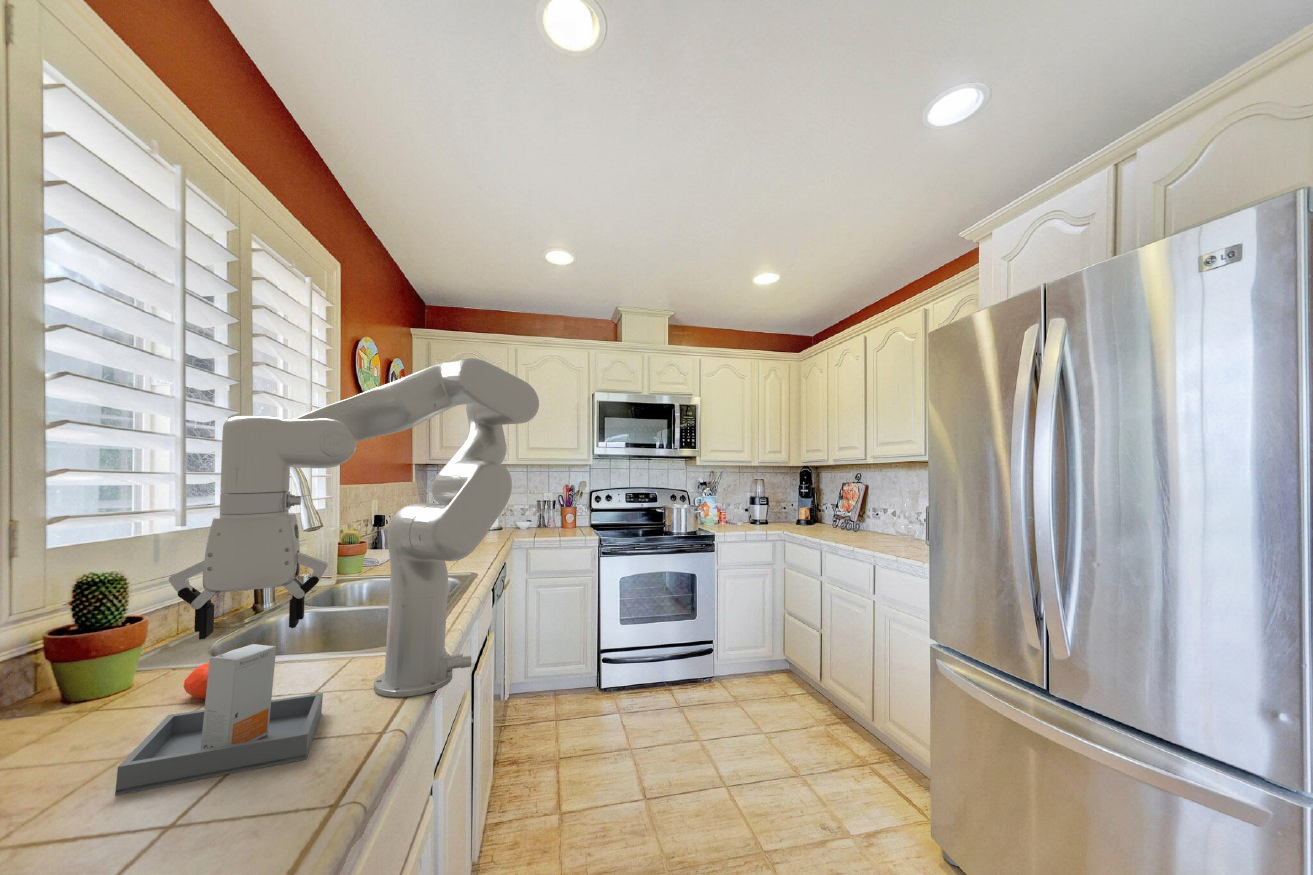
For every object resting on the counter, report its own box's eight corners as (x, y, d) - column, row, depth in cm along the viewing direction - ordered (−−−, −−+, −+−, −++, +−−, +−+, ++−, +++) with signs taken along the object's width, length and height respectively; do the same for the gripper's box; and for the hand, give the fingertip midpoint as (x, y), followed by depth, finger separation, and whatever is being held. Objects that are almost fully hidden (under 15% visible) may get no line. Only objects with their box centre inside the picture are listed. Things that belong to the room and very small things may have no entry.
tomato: (228, 686, 89) (237, 647, 90) (244, 698, 84) (253, 657, 85) (174, 694, 83) (184, 652, 84) (188, 707, 78) (199, 663, 80)
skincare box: (226, 757, 64) (234, 660, 65) (198, 753, 65) (207, 657, 66) (270, 734, 70) (277, 645, 71) (245, 731, 71) (252, 643, 72)
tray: (321, 713, 78) (322, 692, 78) (306, 759, 65) (307, 734, 66) (166, 738, 70) (168, 714, 70) (114, 795, 57) (117, 766, 58)
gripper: (332, 501, 78) (329, 614, 77) (184, 506, 70) (179, 632, 69) (325, 504, 71) (322, 629, 70) (161, 510, 63) (155, 650, 62)
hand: (251, 630), depth 70 cm, fingers open, 9 cm apart
